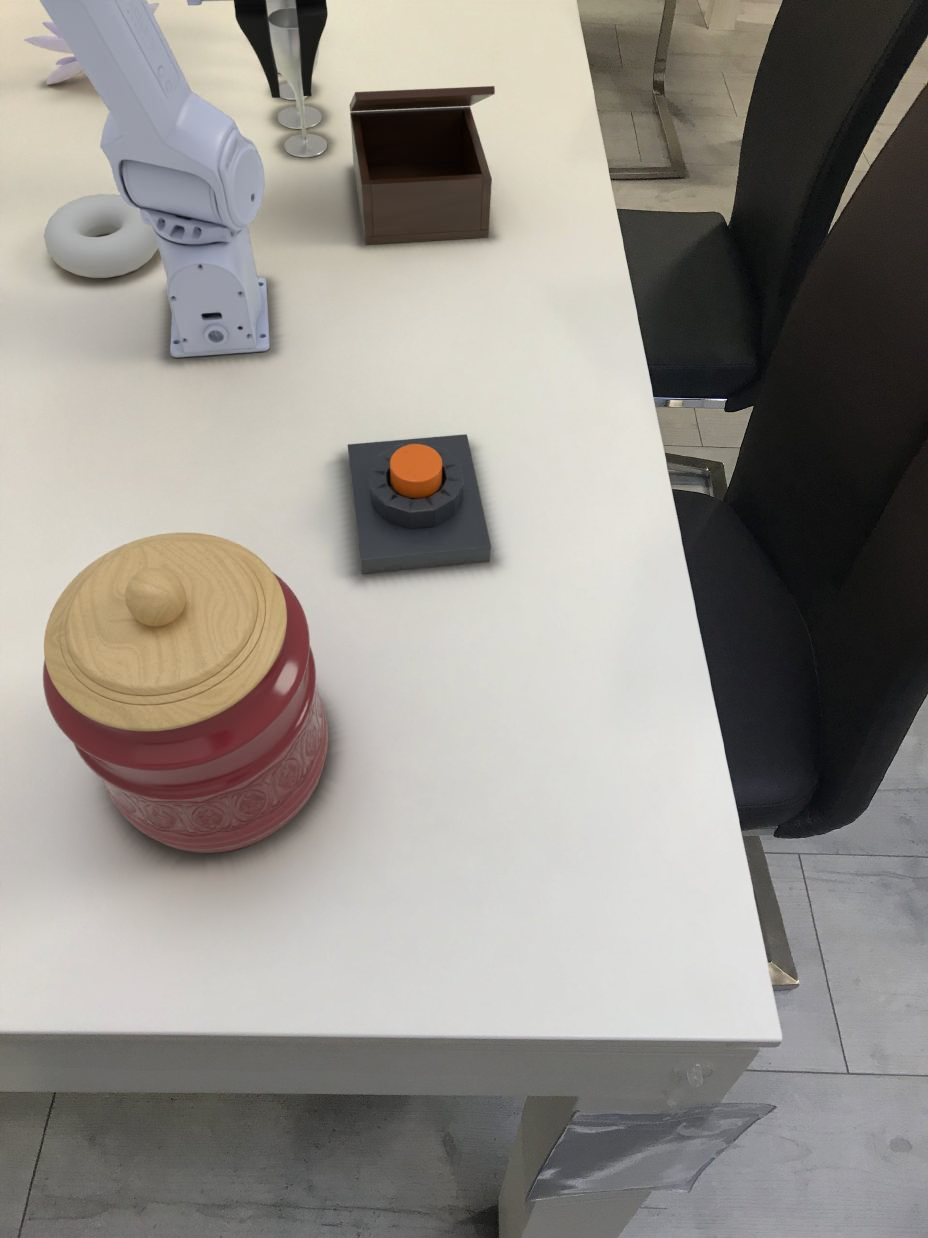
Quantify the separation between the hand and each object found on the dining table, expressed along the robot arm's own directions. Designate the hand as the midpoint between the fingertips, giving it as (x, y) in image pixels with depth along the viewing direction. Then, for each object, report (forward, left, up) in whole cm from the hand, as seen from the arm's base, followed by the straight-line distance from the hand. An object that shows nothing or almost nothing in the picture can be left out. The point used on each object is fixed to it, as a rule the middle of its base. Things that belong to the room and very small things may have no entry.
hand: (291, 91), depth 80 cm
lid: (-1, -11, -1) cm, 11 cm away
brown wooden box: (-1, -11, -10) cm, 15 cm away
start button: (-40, -6, -7) cm, 41 cm away
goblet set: (+22, 0, -11) cm, 24 cm away
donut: (-6, +18, -11) cm, 22 cm away
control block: (-40, -6, -10) cm, 42 cm away
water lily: (+26, +20, -11) cm, 34 cm away
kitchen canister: (-58, +8, -11) cm, 60 cm away
